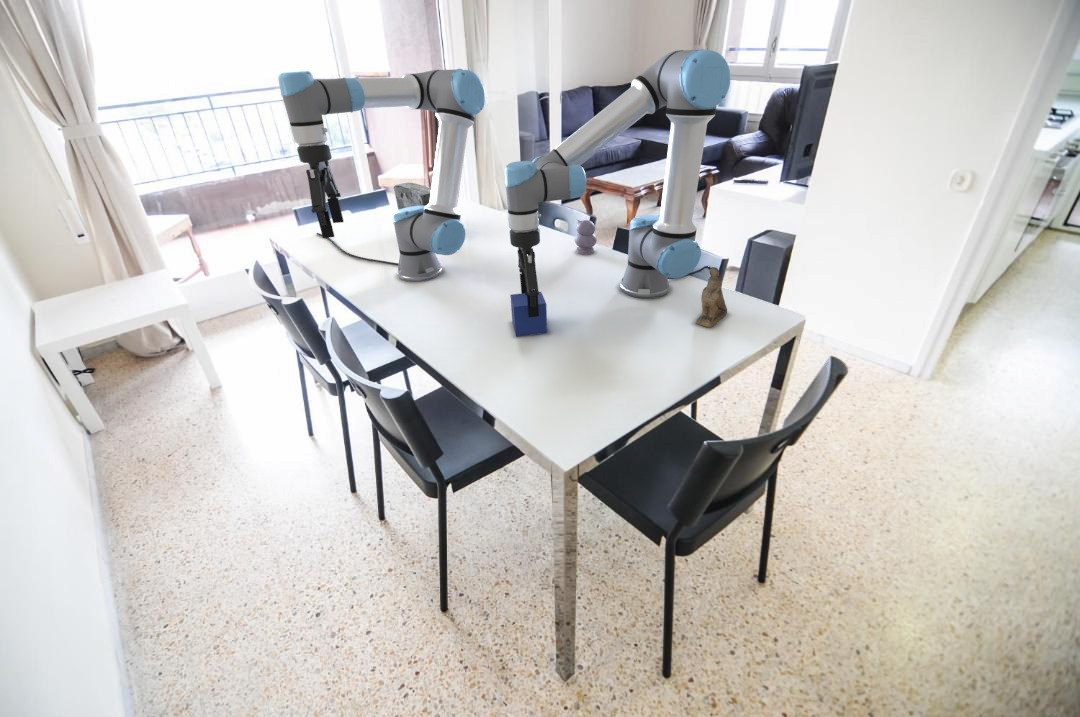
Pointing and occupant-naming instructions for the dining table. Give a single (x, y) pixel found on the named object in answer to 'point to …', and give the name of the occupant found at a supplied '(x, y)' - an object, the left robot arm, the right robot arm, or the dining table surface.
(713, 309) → the worn brown figurine
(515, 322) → the block
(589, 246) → the grey owl figurine
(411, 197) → the concrete block
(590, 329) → the dining table surface
